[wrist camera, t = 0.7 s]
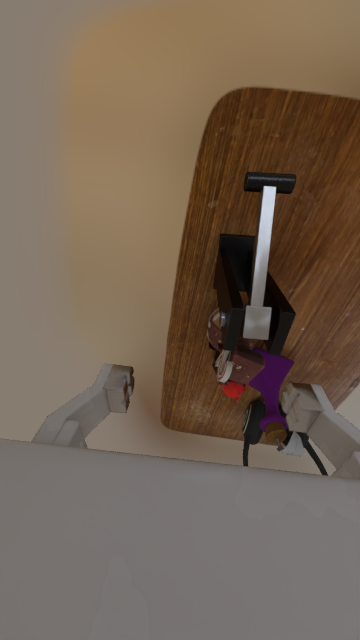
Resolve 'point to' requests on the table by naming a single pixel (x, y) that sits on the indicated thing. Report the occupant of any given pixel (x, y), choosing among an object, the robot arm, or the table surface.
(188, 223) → the table surface
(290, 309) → the bracket
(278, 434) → the perfume bottle
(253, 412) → the headphones
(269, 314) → the lever
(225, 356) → the chocolate birthday cake
